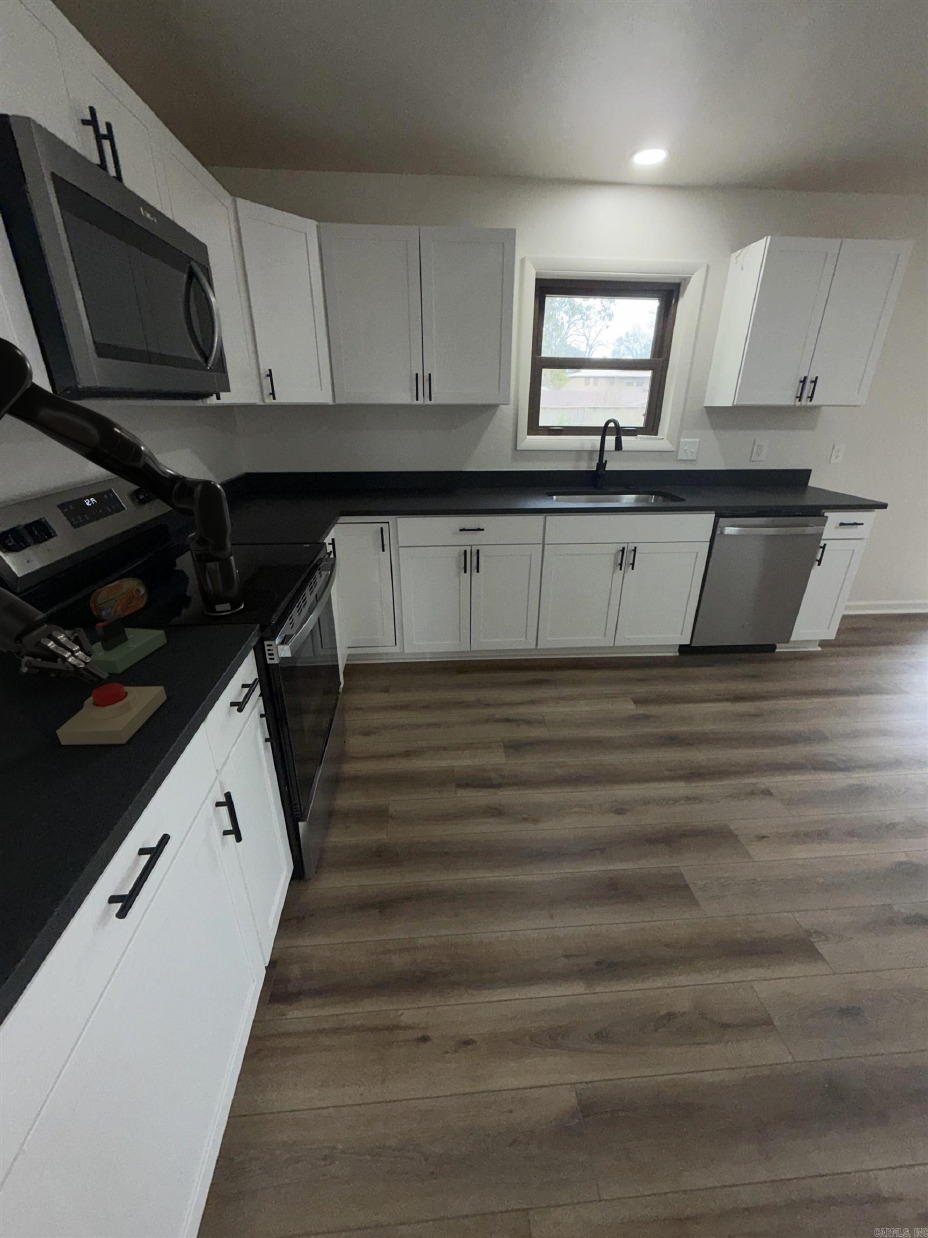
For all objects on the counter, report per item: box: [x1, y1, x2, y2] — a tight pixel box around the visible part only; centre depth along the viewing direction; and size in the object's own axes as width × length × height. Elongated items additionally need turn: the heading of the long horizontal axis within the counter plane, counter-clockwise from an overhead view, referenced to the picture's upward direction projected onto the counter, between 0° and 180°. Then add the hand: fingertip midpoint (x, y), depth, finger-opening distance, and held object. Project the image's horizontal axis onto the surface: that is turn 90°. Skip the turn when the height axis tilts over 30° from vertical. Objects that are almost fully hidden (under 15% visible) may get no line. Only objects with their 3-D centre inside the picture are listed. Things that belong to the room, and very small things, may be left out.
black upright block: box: [94, 616, 128, 651], centre depth 103 cm, size 5×2×6 cm, turn 171°
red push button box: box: [55, 685, 168, 746], centre depth 84 cm, size 13×10×4 cm
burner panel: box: [74, 627, 168, 674], centre depth 106 cm, size 14×10×3 cm
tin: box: [89, 577, 149, 621], centre depth 125 cm, size 15×3×8 cm, turn 168°
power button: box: [91, 682, 126, 707], centre depth 83 cm, size 4×4×2 cm
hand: (105, 681), depth 82 cm, fingers closed
